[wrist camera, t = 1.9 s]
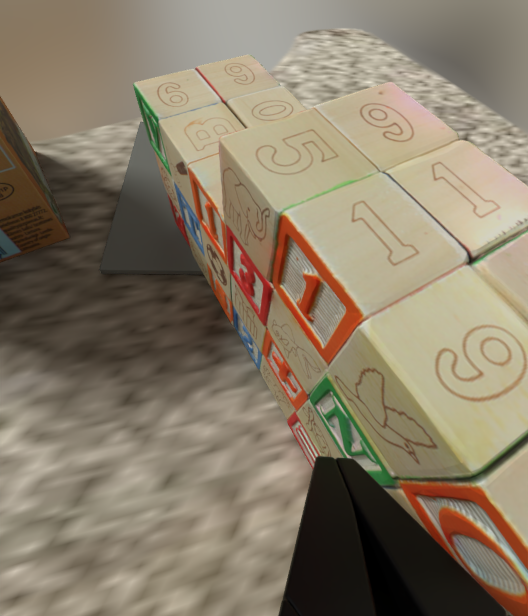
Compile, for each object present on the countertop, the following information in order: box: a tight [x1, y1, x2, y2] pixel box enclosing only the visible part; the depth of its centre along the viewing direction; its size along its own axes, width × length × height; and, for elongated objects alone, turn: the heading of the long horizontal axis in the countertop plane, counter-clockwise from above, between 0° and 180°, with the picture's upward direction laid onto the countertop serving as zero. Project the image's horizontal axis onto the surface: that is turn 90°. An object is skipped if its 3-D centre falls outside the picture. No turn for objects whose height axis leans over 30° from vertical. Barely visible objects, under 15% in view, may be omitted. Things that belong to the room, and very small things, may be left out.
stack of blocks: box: [133, 55, 528, 616], centre depth 14 cm, size 21×6×12 cm, turn 30°
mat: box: [99, 122, 203, 274], centre depth 25 cm, size 16×24×1 cm, turn 91°
